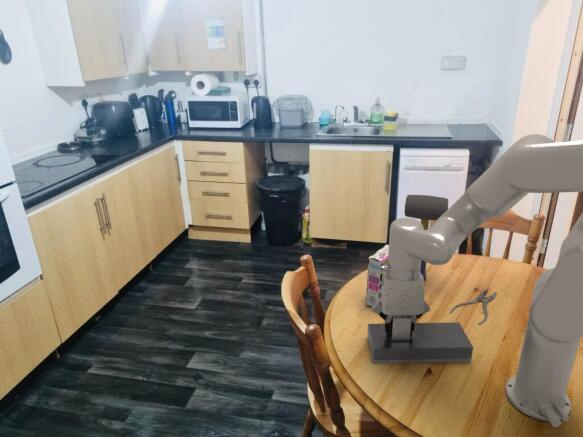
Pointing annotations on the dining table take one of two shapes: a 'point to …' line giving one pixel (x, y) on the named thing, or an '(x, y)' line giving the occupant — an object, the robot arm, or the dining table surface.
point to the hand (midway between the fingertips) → (399, 332)
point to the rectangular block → (421, 344)
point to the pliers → (479, 299)
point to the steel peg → (400, 329)
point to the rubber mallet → (425, 213)
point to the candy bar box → (376, 275)
